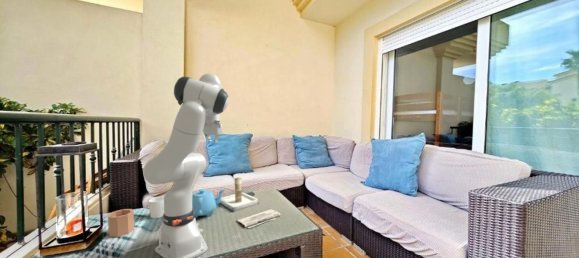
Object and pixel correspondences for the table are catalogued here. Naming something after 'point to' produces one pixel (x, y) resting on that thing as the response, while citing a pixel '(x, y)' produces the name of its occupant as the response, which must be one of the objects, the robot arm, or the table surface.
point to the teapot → (205, 202)
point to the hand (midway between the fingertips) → (212, 142)
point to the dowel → (238, 190)
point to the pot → (120, 222)
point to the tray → (246, 202)
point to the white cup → (156, 207)
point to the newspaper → (259, 218)
